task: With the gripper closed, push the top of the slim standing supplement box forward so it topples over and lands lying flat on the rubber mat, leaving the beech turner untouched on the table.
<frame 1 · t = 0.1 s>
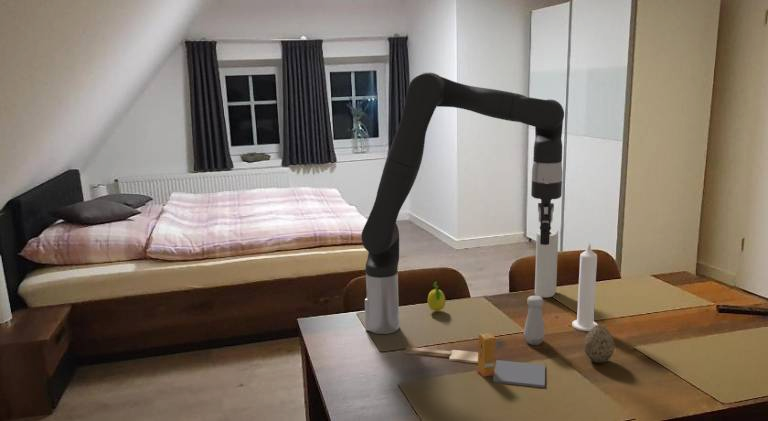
hand: (544, 239, 152), 29 cm above the table, fingers open, 8 cm apart
lemon: (436, 312, 181), on the table
salt shaker: (533, 342, 159), on the table
turner: (450, 356, 153), on the table
decorative egg: (597, 362, 148), on the table
paper towel roll: (545, 295, 192), on the table
mat: (519, 374, 142), on the table
candle: (584, 327, 168), on the table
supplement box: (486, 373, 143), on the table
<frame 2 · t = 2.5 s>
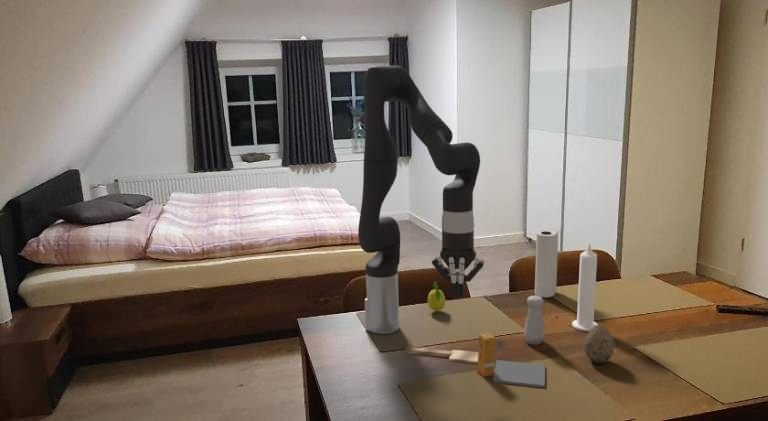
hand: (458, 296, 141), 20 cm above the table, fingers closed
nothing on the table moved.
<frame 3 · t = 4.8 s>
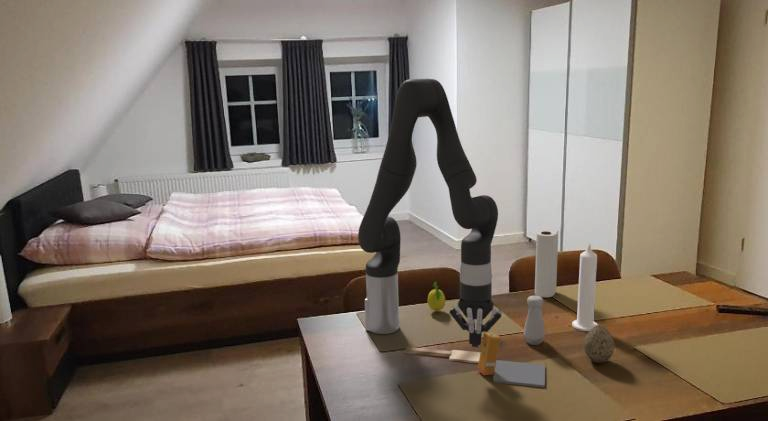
hand: (475, 345, 142), 7 cm above the table, fingers closed
supplement box: (486, 372, 143), on the table, touching gripper, mat
everything else where it was.
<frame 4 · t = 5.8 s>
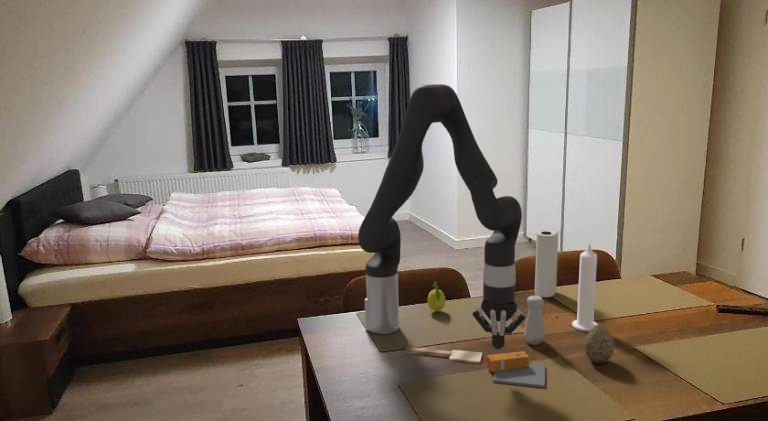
hand: (498, 347, 141), 7 cm above the table, fingers closed
supplement box: (488, 364, 144), point 2 cm above the table, touching mat
everything else where it was.
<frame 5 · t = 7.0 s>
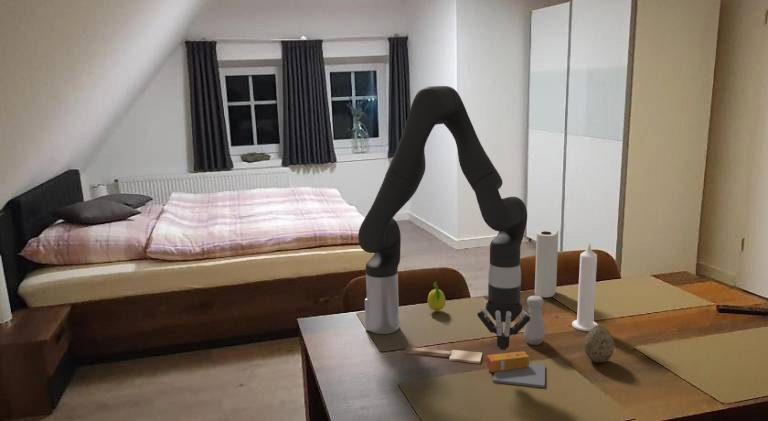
hand: (503, 348, 141), 7 cm above the table, fingers closed
nothing on the table moved.
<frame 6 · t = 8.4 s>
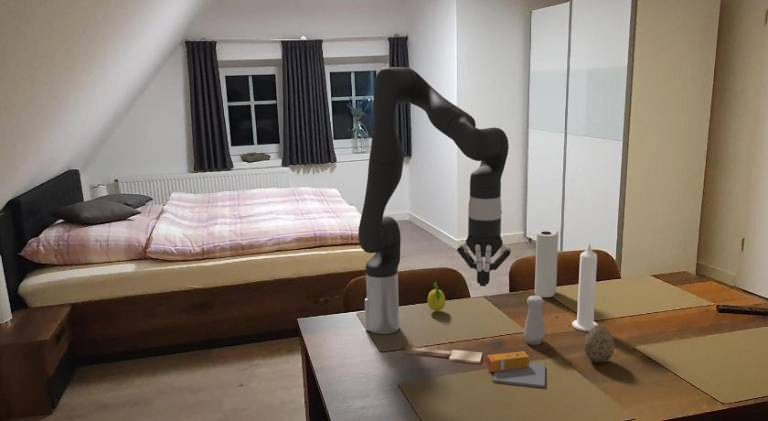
hand: (483, 285, 138), 23 cm above the table, fingers closed
nothing on the table moved.
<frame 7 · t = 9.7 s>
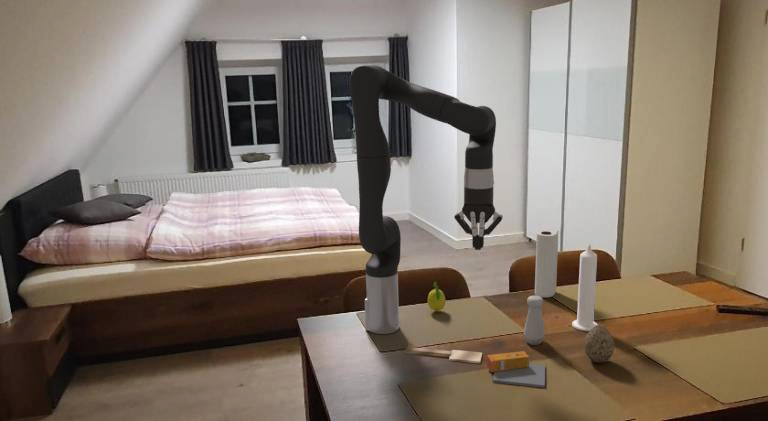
hand: (478, 249, 153), 27 cm above the table, fingers closed
nothing on the table moved.
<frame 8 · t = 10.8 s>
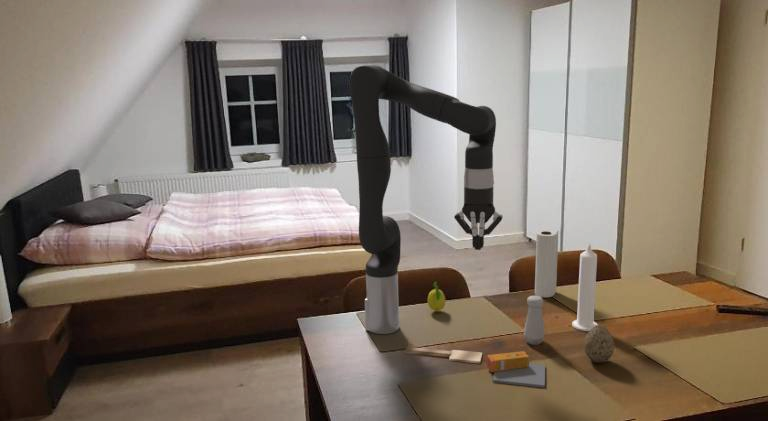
hand: (478, 249, 153), 27 cm above the table, fingers closed
nothing on the table moved.
at the end: supplement box tilted 88°; supplement box inside the target area (7.1 cm from its centre), point 2.0 cm above the table; turner moved 0.1 cm from its start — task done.
